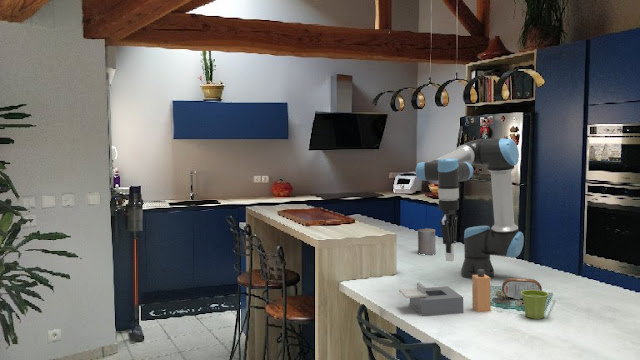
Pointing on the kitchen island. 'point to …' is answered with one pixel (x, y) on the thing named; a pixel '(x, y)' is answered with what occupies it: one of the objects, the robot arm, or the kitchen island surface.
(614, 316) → the kitchen island surface
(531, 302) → the plant pot
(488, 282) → the orange square bottle
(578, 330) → the kitchen island surface
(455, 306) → the socket
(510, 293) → the tin
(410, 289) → the shutter
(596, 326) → the kitchen island surface
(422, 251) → the pillar candle
